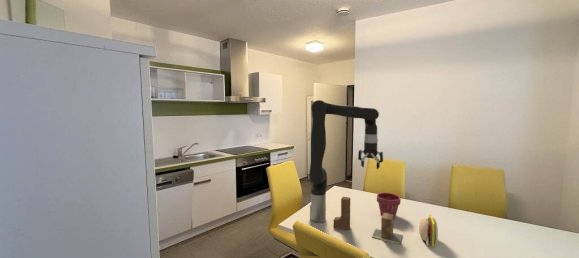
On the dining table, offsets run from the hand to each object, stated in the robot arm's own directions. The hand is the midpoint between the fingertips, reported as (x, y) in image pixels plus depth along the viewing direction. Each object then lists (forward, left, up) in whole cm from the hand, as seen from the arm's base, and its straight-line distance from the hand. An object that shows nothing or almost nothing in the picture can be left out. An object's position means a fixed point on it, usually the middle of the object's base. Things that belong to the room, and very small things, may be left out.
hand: (370, 167), depth 146 cm
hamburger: (+32, -7, -34) cm, 47 cm away
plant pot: (+9, +14, -34) cm, 38 cm away
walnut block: (+13, -14, -33) cm, 38 cm away
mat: (+13, -14, -34) cm, 38 cm away
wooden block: (-12, -16, -34) cm, 39 cm away
